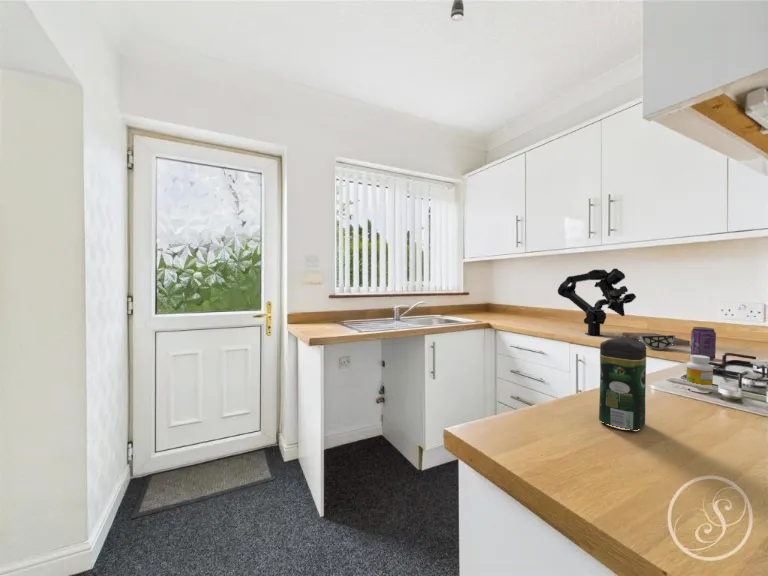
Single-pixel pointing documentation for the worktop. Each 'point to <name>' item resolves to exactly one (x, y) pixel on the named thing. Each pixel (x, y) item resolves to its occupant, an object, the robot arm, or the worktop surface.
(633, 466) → the worktop surface
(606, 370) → the coffee jar
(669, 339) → the food container
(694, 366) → the supplement bottle
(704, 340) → the beverage can
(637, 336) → the walnut chopping board
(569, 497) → the worktop surface
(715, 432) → the worktop surface
